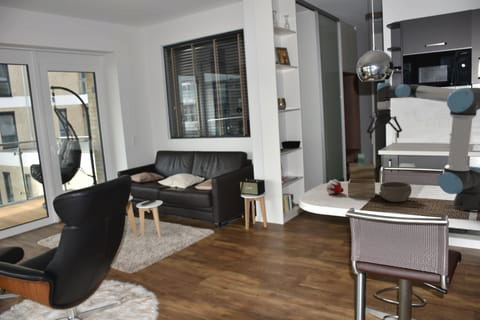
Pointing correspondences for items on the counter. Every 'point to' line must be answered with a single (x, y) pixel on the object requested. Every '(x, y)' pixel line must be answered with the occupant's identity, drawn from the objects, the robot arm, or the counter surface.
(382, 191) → the bowl
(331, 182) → the red and white lump
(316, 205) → the counter surface
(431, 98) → the robot arm
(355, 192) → the carton
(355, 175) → the flap
